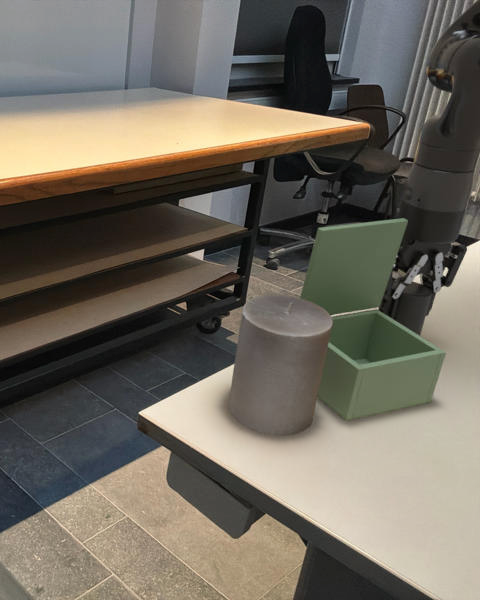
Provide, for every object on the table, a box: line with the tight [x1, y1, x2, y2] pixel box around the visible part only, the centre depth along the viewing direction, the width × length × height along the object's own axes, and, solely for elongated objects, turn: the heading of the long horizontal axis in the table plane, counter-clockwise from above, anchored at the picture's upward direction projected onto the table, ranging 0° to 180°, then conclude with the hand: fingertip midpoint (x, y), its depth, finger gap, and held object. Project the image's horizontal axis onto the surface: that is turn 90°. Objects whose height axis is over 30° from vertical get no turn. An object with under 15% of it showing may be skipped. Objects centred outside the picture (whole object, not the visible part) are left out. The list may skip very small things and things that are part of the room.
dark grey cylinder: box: [392, 280, 432, 336], centre depth 94 cm, size 5×5×9 cm
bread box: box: [317, 308, 447, 422], centre depth 84 cm, size 12×13×8 cm
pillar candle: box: [227, 294, 333, 436], centre depth 77 cm, size 10×10×15 cm
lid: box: [299, 218, 408, 316], centre depth 85 cm, size 12×13×4 cm
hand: (403, 316), depth 94 cm, fingers closed on dark grey cylinder, 5 cm apart
